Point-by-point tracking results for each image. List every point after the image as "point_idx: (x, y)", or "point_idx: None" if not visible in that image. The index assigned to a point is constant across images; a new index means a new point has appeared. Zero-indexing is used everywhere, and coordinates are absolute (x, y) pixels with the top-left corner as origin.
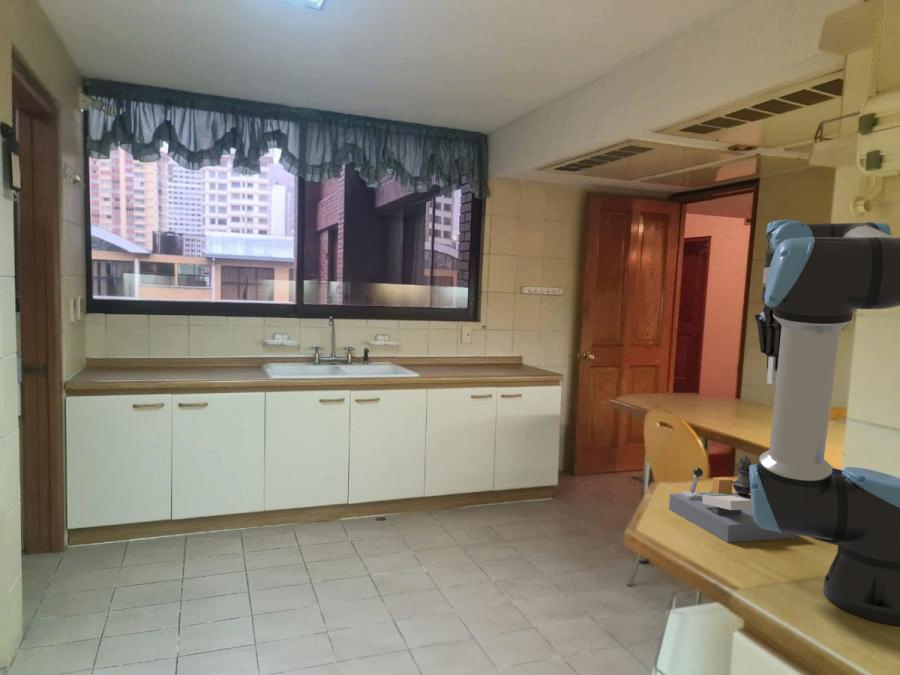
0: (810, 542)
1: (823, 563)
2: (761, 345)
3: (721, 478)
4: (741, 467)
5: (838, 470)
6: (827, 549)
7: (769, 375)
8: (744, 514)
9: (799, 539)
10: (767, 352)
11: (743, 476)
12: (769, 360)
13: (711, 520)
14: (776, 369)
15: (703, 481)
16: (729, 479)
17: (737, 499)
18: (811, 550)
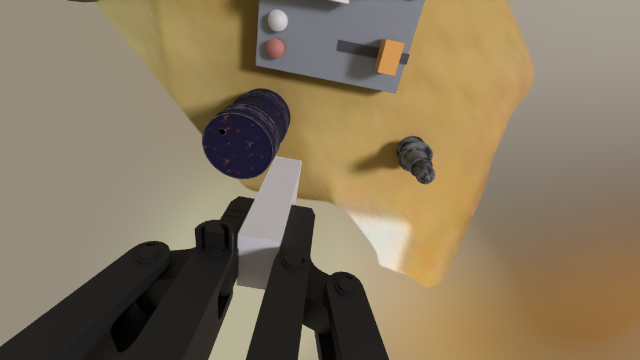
0: (246, 69)
1: (183, 10)
2: (359, 325)
3: (392, 56)
4: (423, 162)
5: (245, 175)
6: (222, 68)
7: (285, 176)
8: (300, 2)
9: None
10: (292, 267)
11: (415, 157)
12: (276, 223)
13: None
14: (248, 201)
15: (491, 156)
16: (381, 67)
17: None
18: (223, 41)
